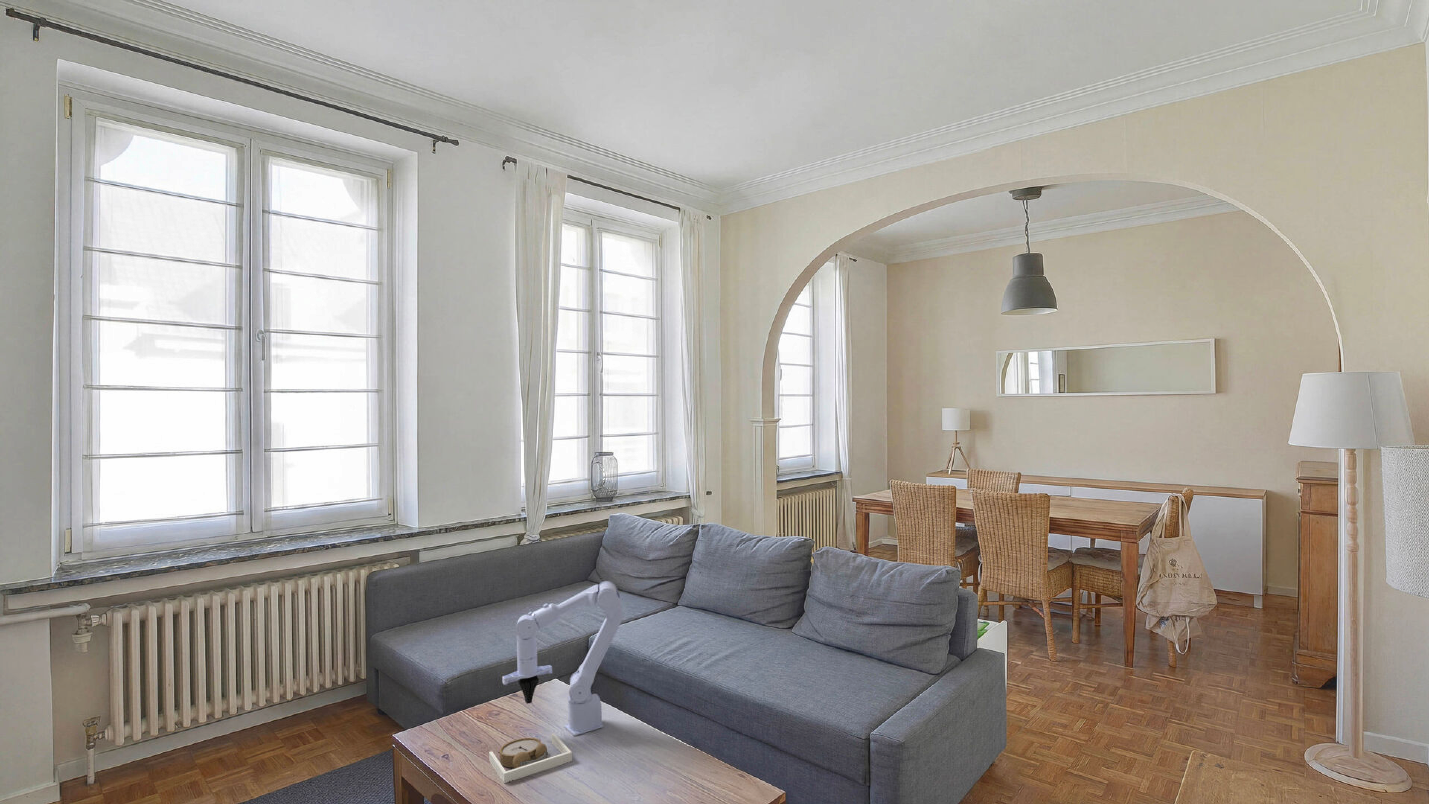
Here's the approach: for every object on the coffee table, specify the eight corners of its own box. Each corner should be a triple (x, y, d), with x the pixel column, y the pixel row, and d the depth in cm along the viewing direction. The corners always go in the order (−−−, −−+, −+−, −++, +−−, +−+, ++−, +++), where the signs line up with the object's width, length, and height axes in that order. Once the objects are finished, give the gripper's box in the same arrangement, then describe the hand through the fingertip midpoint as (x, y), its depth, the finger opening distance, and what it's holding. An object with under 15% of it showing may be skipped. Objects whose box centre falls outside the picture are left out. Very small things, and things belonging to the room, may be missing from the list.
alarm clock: (526, 734, 201) (555, 741, 191) (528, 751, 201) (557, 759, 191) (491, 749, 193) (519, 757, 183) (493, 767, 193) (521, 776, 182)
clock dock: (554, 741, 202) (553, 732, 202) (572, 761, 191) (571, 752, 191) (489, 761, 192) (489, 752, 192) (504, 783, 180) (503, 773, 180)
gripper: (545, 647, 215) (547, 691, 215) (498, 658, 207) (500, 703, 207) (554, 654, 209) (555, 699, 209) (505, 665, 201) (507, 712, 201)
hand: (528, 702), depth 207 cm, fingers closed
